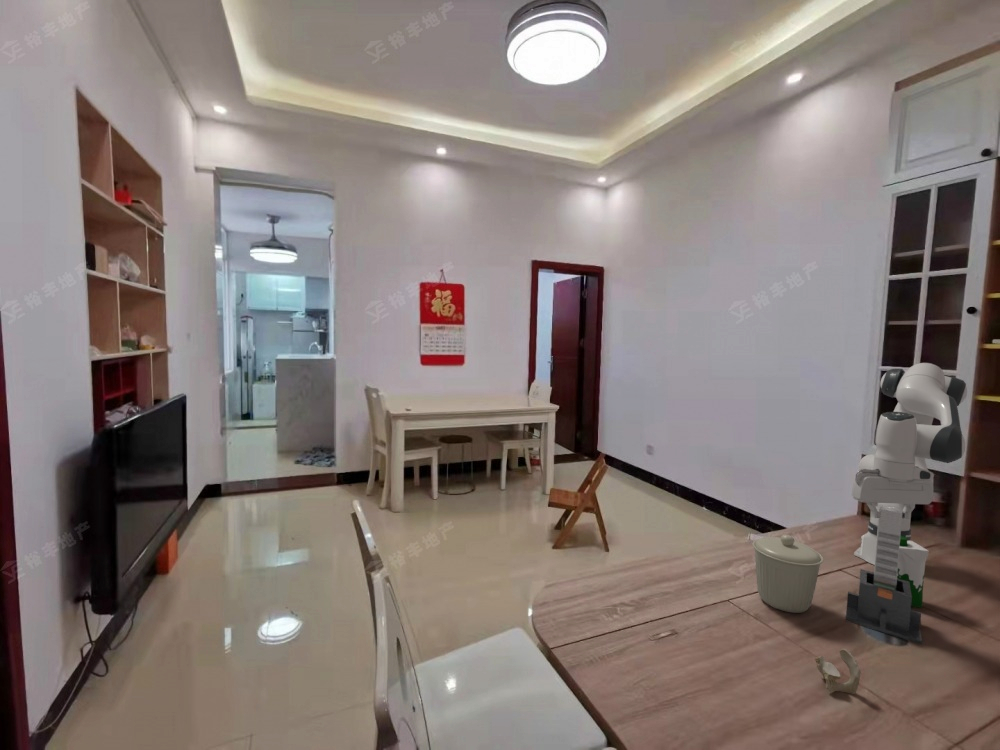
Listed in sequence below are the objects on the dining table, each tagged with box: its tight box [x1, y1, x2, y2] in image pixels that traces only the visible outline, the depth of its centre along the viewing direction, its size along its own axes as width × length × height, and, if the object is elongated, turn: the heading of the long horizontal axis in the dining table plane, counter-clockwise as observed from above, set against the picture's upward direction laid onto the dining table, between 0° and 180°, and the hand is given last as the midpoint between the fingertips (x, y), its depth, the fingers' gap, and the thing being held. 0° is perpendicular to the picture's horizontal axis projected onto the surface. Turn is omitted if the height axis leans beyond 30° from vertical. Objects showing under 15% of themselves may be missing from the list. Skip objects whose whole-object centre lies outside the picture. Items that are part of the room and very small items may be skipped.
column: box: [873, 505, 902, 590], centre depth 129 cm, size 6×5×24 cm
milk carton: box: [897, 536, 930, 609], centre depth 140 cm, size 9×9×20 cm
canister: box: [751, 534, 824, 614], centre depth 136 cm, size 18×18×21 cm
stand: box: [845, 568, 923, 645], centre depth 130 cm, size 16×16×11 cm
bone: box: [814, 648, 862, 695], centre depth 103 cm, size 9×6×10 cm
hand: (889, 517), depth 129 cm, fingers closed on column, 7 cm apart
